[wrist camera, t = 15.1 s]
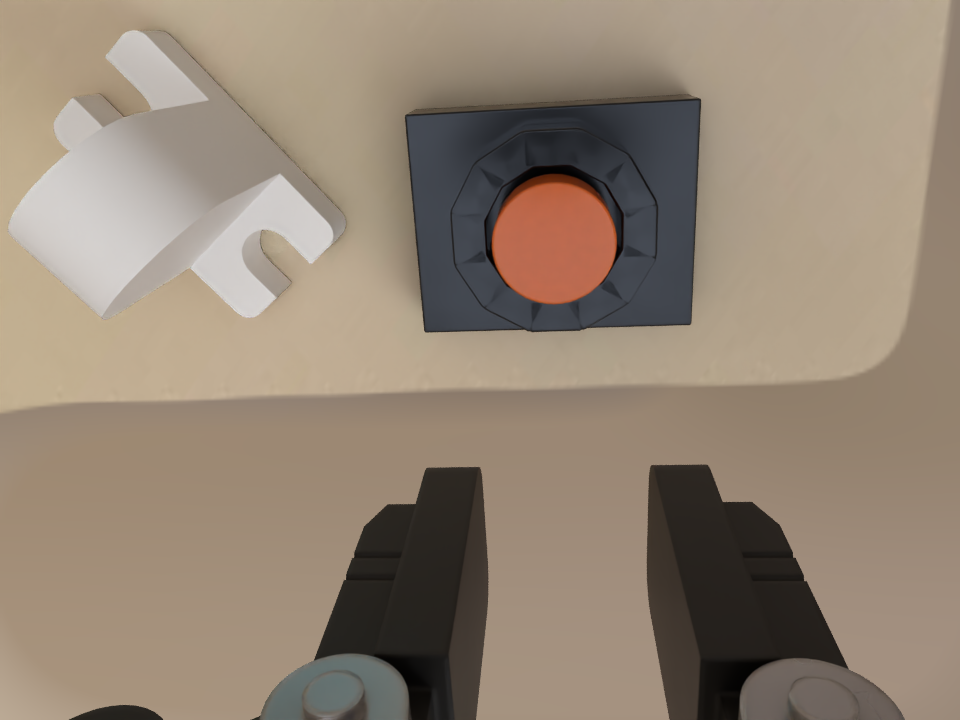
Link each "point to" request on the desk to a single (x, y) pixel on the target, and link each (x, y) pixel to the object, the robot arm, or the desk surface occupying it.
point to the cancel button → (554, 239)
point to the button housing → (570, 151)
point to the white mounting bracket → (168, 191)
